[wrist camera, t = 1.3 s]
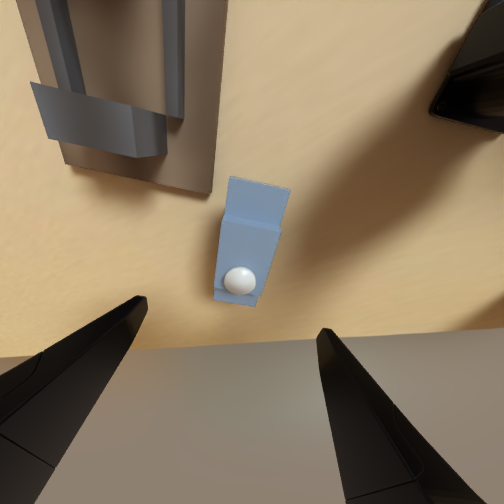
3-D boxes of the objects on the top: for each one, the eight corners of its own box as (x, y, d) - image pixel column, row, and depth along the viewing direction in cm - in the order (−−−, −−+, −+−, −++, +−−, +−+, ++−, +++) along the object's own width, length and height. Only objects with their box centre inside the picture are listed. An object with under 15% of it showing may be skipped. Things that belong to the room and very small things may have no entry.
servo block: (282, 177, 16) (294, 197, 10) (256, 274, 22) (254, 321, 16) (237, 167, 16) (224, 182, 10) (222, 268, 21) (209, 313, 16)
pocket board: (249, -244, 8) (231, -785, 3) (211, 191, 17) (194, 210, 12) (-69, -364, 7) (-693, -1320, 2) (75, 162, 16) (4, 171, 12)
